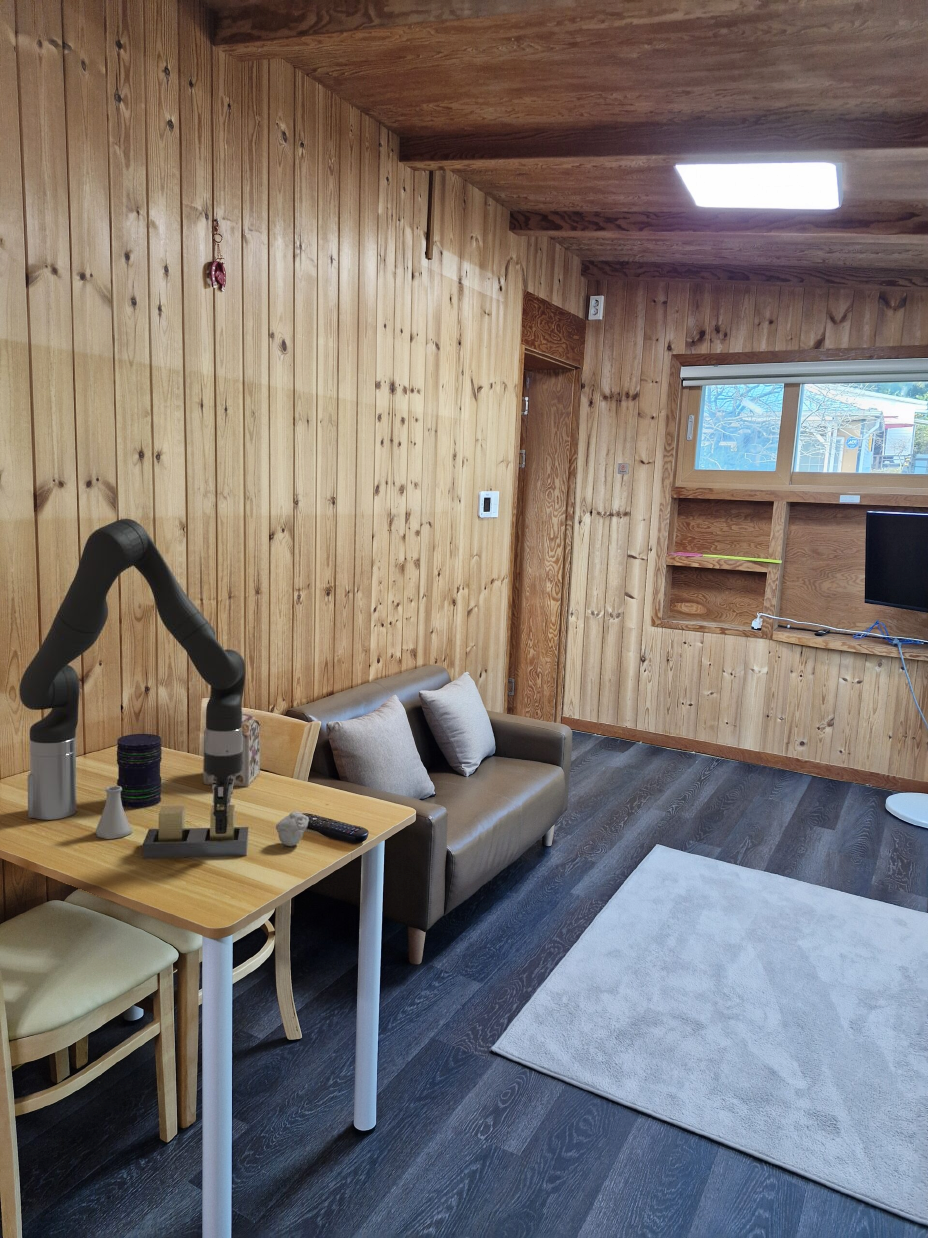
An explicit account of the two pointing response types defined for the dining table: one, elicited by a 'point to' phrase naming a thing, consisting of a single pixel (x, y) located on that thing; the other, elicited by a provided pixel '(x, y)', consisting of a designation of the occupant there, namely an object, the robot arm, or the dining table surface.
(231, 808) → the beige wooden block
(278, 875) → the dining table surface
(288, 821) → the frog figurine
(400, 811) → the dining table surface
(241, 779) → the decorative jar
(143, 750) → the storage jar
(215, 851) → the grey slotted tray
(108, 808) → the flask
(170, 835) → the block
